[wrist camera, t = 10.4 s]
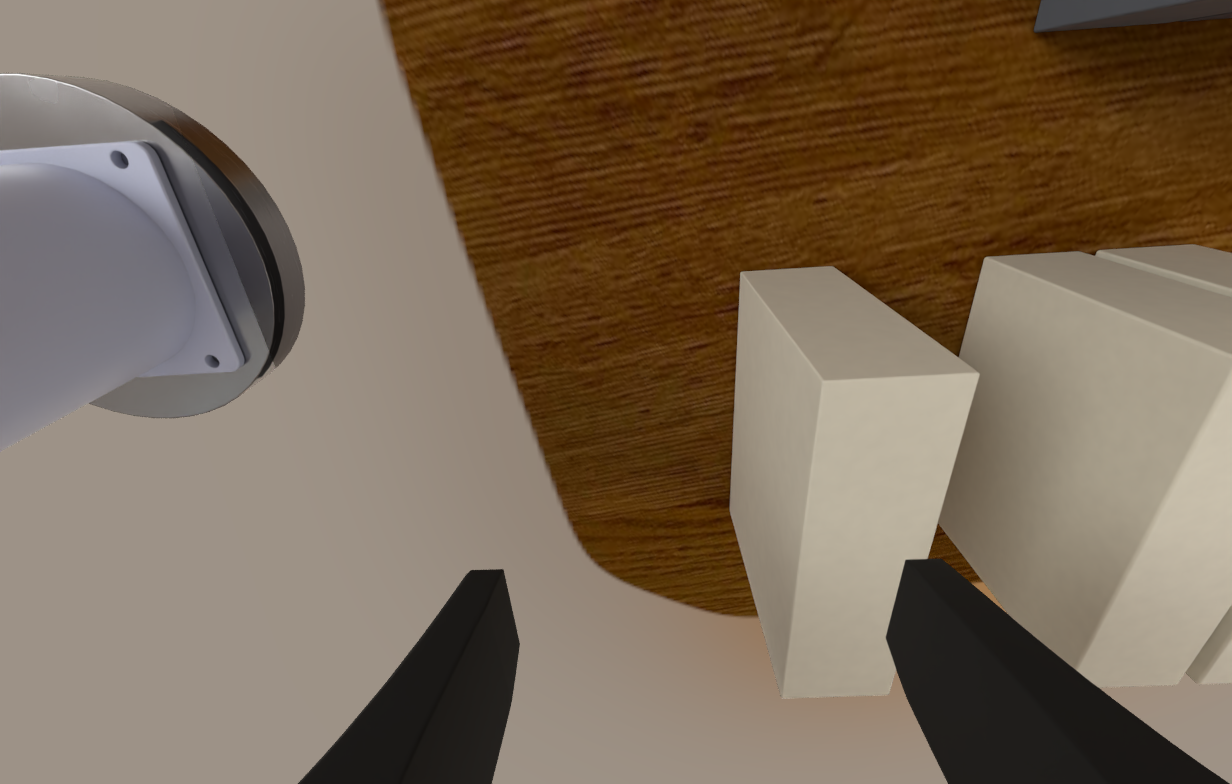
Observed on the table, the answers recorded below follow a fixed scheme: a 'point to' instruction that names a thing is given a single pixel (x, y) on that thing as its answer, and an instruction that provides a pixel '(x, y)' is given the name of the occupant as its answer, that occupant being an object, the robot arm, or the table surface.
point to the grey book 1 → (1121, 12)
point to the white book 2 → (1098, 461)
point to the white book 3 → (1227, 274)
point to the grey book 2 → (1211, 17)
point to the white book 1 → (836, 469)
